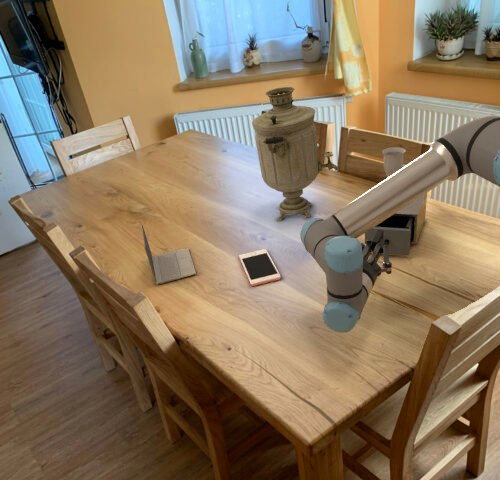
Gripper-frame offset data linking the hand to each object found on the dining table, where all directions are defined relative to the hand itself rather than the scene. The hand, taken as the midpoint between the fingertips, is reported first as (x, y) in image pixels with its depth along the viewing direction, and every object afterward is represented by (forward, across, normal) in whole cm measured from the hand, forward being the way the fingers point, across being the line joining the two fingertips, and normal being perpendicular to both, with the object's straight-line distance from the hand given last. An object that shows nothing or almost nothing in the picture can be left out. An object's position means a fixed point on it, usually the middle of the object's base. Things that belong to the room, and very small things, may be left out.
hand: (380, 234), depth 131 cm
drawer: (+14, 0, -10) cm, 17 cm away
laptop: (-10, -63, -11) cm, 65 cm away
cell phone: (-5, -35, -11) cm, 37 cm away
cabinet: (+23, 0, -11) cm, 26 cm away
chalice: (+42, -6, -11) cm, 44 cm away
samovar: (+31, -35, -11) cm, 48 cm away
